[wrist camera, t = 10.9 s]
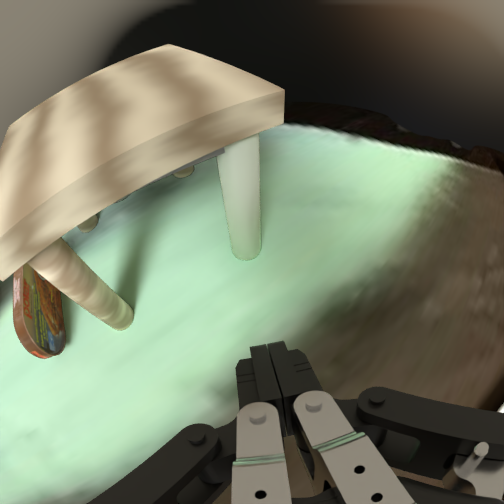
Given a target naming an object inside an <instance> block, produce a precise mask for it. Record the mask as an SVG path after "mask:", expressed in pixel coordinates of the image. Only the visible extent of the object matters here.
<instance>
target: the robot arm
mask: <svg viewBox="0 0 504 504" xmlns="http://www.w3.org/2000/svg"><path fill="white" fill-rule="evenodd" d="M267 348H268V349H267ZM250 351H251V357H252V358H248V359H242V360H239V362H238V364H237V366H236V378H237V388H238V398H239V407H240V410H239V412H238V415H237V417H236V418H235V419H234V420H233V421H232V422H230V423H229V424H227V425H225V426H222V427H219V428H216V429H214V428H213V427H212V426H210V425H207V424H193V425H189V426H187V427H185V428H184V429H182V430H181V431H180V432H179V433H178V434H177V435H176V436H174V437H173V438H172V439H171V440H170V441H169V442H167V443H166V444H165V445H164V446H163V447H162V448H160V449H159V450H158V451H157V452H156V453H154V454H153V455H152V456H151V457H149V458H148V459H147V460H146V461H144V462H143V463H142V464H141V465H139V466H138V467H137V468H136V469H134V470H133V471H132V472H130V473H129V474H128V475H126V476H125V477H124V478H123V479H121V480H120V481H118V482H117V483H116V484H114V485H113V486H112V487H110V488H109V489H107V490H106V491H105V492H103V493H102V494H100V495H99V496H97V497H96V498H95V499H93V500H92V501H90V502H89V503H87V504H212V503H213V502H214V501H215V500H216V499H217V498H218V497H219V495H220V494H221V493H222V492H223V491H224V490H225V489H226V488H227V487H228V486H229V485H230V483H231V482H232V504H504V501H503V500H501V499H502V496H503V493H504V413H501V412H494V411H487V410H481V409H475V408H470V407H464V406H459V405H454V404H449V403H444V402H440V401H435V400H431V399H427V398H422V397H418V396H414V395H410V394H406V393H403V392H399V391H395V390H392V389H388V388H384V387H372V388H368V389H366V390H364V391H363V392H362V393H361V394H360V395H359V397H358V399H351V400H338V399H334V398H332V397H331V395H329V394H328V393H326V392H324V391H323V389H322V387H321V385H320V383H319V381H318V379H317V377H316V375H315V373H314V371H313V369H312V367H311V365H310V363H309V361H308V359H307V357H306V355H305V354H304V353H303V352H301V351H300V350H298V349H295V350H290V351H288V350H287V348H286V345H285V343H284V341H279V342H274V343H269V344H267V346H266V344H264V345H258V346H252V347H250ZM285 427H286V430H285ZM286 431H287V434H288V436H291V435H294V436H295V439H296V444H297V451H298V454H299V456H300V458H301V461H302V463H303V465H304V468H305V470H306V472H307V475H308V477H309V479H310V481H311V484H312V487H313V491H314V495H315V496H313V497H309V498H291V495H290V488H289V482H288V475H287V468H286V462H285V456H284V449H285V447H284V439H283V437H286ZM389 466H391V467H394V468H397V469H400V470H403V471H407V472H410V473H414V474H417V475H421V476H425V477H429V478H433V479H437V480H442V482H443V485H444V488H440V487H436V486H432V485H429V484H425V483H422V482H419V481H415V480H412V479H409V478H405V477H400V476H396V475H395V474H394V473H393V471H392V470H391V468H390V467H389Z"/></svg>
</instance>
